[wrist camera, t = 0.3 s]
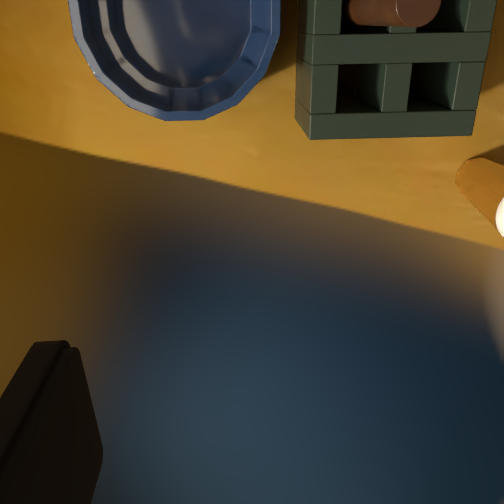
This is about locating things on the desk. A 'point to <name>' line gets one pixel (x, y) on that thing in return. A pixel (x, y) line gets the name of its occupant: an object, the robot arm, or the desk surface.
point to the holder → (391, 72)
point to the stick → (389, 12)
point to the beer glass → (484, 188)
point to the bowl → (177, 51)
